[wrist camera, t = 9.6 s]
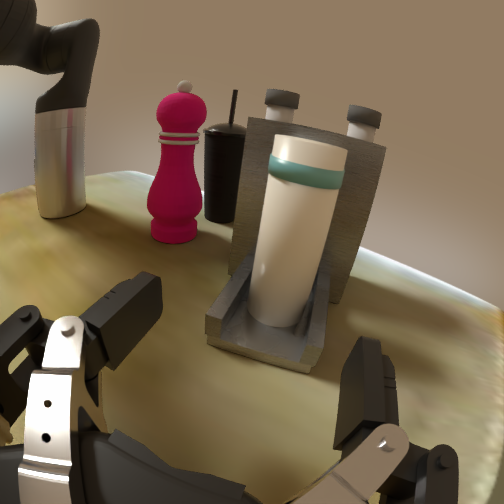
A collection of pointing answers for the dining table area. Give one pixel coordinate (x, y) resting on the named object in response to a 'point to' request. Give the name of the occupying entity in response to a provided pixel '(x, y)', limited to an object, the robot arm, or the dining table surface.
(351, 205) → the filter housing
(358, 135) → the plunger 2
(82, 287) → the dining table surface
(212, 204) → the drinking cup
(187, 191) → the pepper mill
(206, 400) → the dining table surface
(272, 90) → the plunger
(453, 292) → the dining table surface
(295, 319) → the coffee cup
